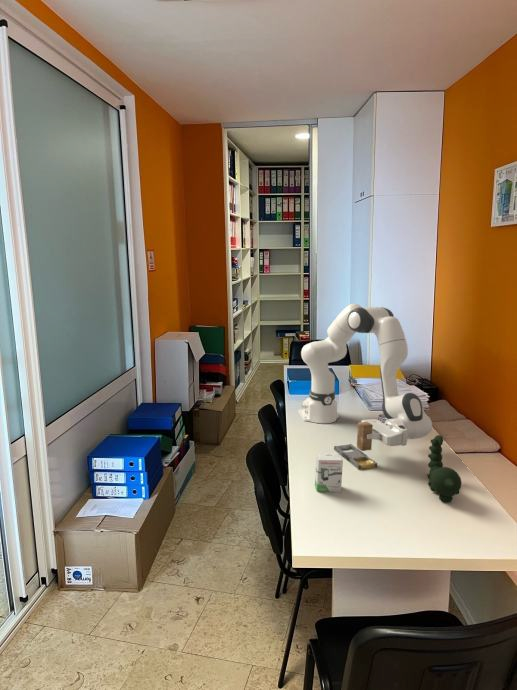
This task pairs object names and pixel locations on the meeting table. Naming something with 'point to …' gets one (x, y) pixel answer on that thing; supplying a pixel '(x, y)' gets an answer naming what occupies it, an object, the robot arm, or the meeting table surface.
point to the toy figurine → (442, 473)
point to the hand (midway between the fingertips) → (362, 433)
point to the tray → (355, 457)
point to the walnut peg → (362, 441)
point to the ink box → (328, 472)
